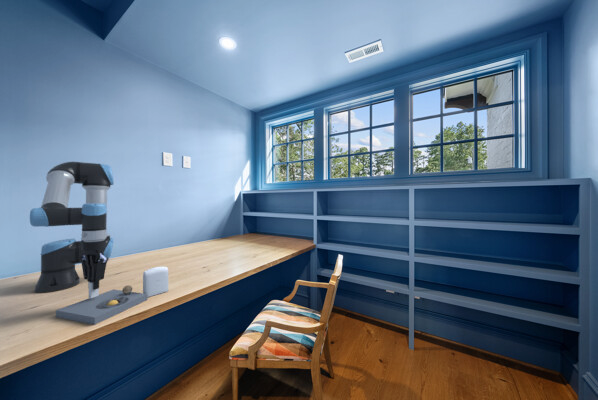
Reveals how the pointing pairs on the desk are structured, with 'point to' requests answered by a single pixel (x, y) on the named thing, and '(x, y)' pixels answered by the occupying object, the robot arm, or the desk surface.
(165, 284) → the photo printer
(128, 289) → the cork ball
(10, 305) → the desk surface
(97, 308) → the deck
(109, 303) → the ball
